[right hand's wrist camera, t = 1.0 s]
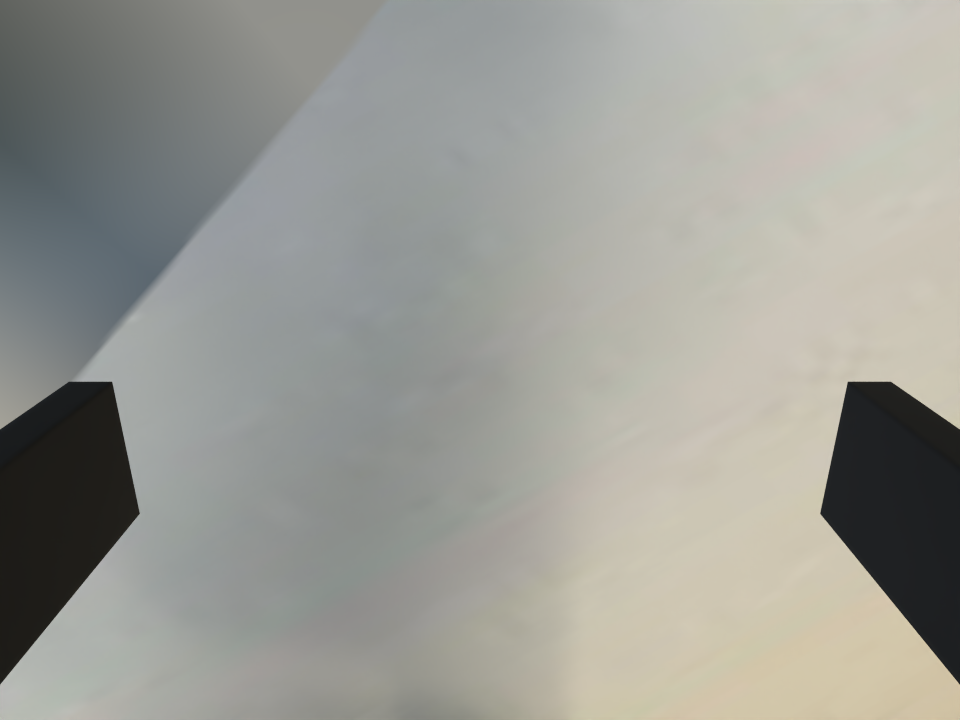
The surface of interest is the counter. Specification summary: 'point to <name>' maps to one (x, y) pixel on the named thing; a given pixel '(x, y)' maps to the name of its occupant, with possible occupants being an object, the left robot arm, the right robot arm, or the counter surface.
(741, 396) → the counter surface
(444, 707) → the counter surface
